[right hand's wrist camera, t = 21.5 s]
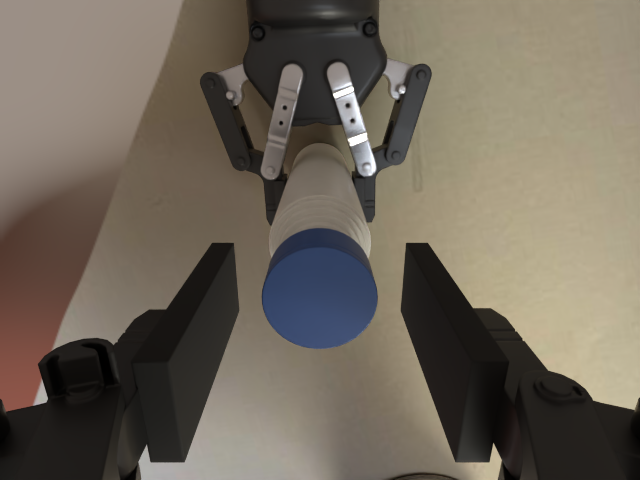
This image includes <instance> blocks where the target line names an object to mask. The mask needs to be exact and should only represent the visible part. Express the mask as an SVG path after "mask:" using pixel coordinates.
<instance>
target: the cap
mask: <svg viewBox="0 0 640 480" xmlns="http://www.w3.org/2000/svg"><path fill="white" fill-rule="evenodd" d="M377 298H378V296H377V288H376V284H375V281H374V277H373V273H372V270H371V266H370V263H369V260H368V257H367V255H366V253H365V252H364V250H363V249H362V247H361V246H360V245H359V244H358V243H357V242H356V241H355V240H354V239H352V238H351V237H349V236H348V235H346V234H344V233H342V232H339V231H337V230H333V229H327V228H312V229H307V230H303V231H300V232H298V233H295V234H294V235H292V236H290V237H289V238H287V239H286V240H285V241H284V242H282V243H281V244H280V245H279V247H278V248H277V249H276V251H275V252H274V254H273V256H272V259H271V261H270V264H269V268H268V271H267V275H266V278H265V282H264V286H263V290H262V305H263V310H264V312H265V315H266V317H267V319H268V321H269V323H270V324H271V326H272V327H273V328H274V329H275V330H276V332H277V333H279V334H280V335H281V336H282V337H283V338H285V339H287V340H288V341H290V342H292V343H294V344H297V345H299V346H302V347H307V348H314V349H326V348H333V347H337V346H340V345H343V344H345V343H347V342H349V341H351V340H353V339H354V338H356V337H357V336H358V335H360V334H361V333H362V332H363V331H364V330H365V329H366V328H367V326H368V325H369V323H370V322H371V320H372V318H373V316H374V314H375V311H376V307H377Z"/></svg>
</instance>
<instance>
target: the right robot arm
mask: <svg viewBox="0 0 640 480" xmlns="http://www.w3.org/2000/svg"><path fill="white" fill-rule="evenodd" d="M238 313H239V301H238V289H237V277H236V264H235V252H234V243H212V244H211V245H210V247H209V248H208V250H207V251H206V253H205V254H204V256H203V257H202V258H201V260H200V261H199V263H198V264H197V266H196V267H195V269H194V270H193V272H192V273H191V274H190V276H189V277H188V279H187V280H186V282H185V283H184V285H183V286H182V287H181V289H180V290H179V292H178V293H177V295H176V296H175V298H174V299H173V300H172V302H171V303H170V305H169V306H168V308H167V309H166V310H148V311H147V312H145V313H143V314H142V315H140V316H139V317H137V318H136V319H134V321H133V322H132V323H131V324H130V326H129V327H128V328H127V329H126V331H125V333H123V334H122V336H121V337H120V338H119V339H118V343H115V344H114V346H113V344H112V343H110V342H109V341H108V340H105V339H100V338H89V339H81V340H77V341H73V342H69V343H67V344H65V345H62V346H60V347H58V348H56V349H54V350H53V351H51V352H50V353H48V354H47V355H45V356H44V357H43V359H42V360H41V361H40V362H39V363H38V366H39V369H40V373H41V376H42V380H43V383H44V386H45V390H46V393H47V397H48V400H47V403H43V404H39V405H35V406H30V407H26V408H21V409H16V410H12V411H8V412H6V411H5V408H4V405H3V402H2V400H1V399H0V480H141V474H140V468H139V463H138V461H139V459H140V457H141V455H142V453H143V451H144V449H145V447H146V445H147V447H148V452H149V457H150V462H185V460H186V457H187V454H188V451H189V449H190V446H191V443H192V440H193V437H194V435H195V432H196V429H197V426H198V424H199V421H200V418H201V415H202V412H203V410H204V407H205V404H206V401H207V399H208V396H209V393H210V390H211V388H212V385H213V382H214V379H215V376H216V374H217V371H218V368H219V365H220V363H221V360H222V357H223V354H224V352H225V349H226V346H227V343H228V340H229V338H230V335H231V332H232V329H233V327H234V324H235V321H236V318H237V316H238ZM401 313H402V316H403V318H404V321H405V324H406V327H407V329H408V332H409V335H410V338H411V340H412V343H413V346H414V349H415V352H416V354H417V357H418V360H419V363H420V365H421V368H422V371H423V374H424V376H425V379H426V382H427V385H428V388H429V390H430V393H431V396H432V399H433V401H434V404H435V407H436V410H437V412H438V415H439V418H440V421H441V424H442V426H443V429H444V432H445V435H446V437H447V440H448V443H449V446H450V449H451V451H452V454H453V457H454V460H455V462H490V457H491V452H492V447H493V443H494V445H495V447H496V449H497V451H498V453H499V455H500V457H501V459H502V463H501V468H500V472H499V477H498V480H640V398H639V399H638V402H637V405H636V408H635V410H632V409H627V408H622V407H618V406H613V405H609V404H604V403H600V402H596V401H593V399H592V398H591V396H590V395H589V393H588V392H587V391H586V389H585V388H583V387H582V386H581V385H579V384H578V383H577V382H576V381H574V380H572V379H570V378H568V377H566V376H564V375H562V374H558V373H555V372H551V371H548V370H547V369H546V367H545V366H544V365H543V364H542V362H541V361H540V360H539V359H538V357H537V356H536V355H535V354H534V352H533V351H532V350H531V349H530V347H529V346H528V345H527V344H526V343H525V341H523V340H522V338H521V336H520V335H519V334H518V333H517V332H515V329H514V328H513V326H512V325H511V324H510V323H509V321H508V320H507V319H506V318H505V317H503V316H502V315H500V314H499V313H497V312H496V311H494V310H493V309H491V308H472V306H471V305H470V303H469V302H468V300H467V299H466V298H465V296H464V295H463V293H462V292H461V290H460V289H459V287H458V286H457V285H456V283H455V282H454V280H453V279H452V277H451V276H450V274H449V273H448V272H447V270H446V269H445V267H444V266H443V264H442V263H441V261H440V260H439V258H438V257H437V256H436V254H435V253H434V251H433V250H432V248H431V247H430V245H429V244H428V243H406V252H405V264H404V277H403V289H402V301H401ZM395 480H454V479H451V478H447V477H443V476H437V475H412V476H406V477H402V478H398V479H395Z"/></svg>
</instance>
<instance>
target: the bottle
mask: <svg viewBox="0 0 640 480" xmlns="http://www.w3.org/2000/svg"><path fill="white" fill-rule="evenodd" d="M312 228H327V229H333V230H337V231H339V232H342V233H344V234H346V235H348V236H349V237H351V238H352V239H354V240H355V241H356V242H357V243H358V244H359V245H360V246H361V247H362V249H363V250H364V252H365V253H366V255H367V257H369V254H370V249H371V236H370V231H369V228H368V225H367V222H366V219H365V216H364V213H363V210H362V207H361V204H360V201H359V199H358V196H357V193H356V190H355V187H354V184H353V181H352V178H351V175H350V172H349V170H348V167H347V164H346V161H345V158H344V157H343V155H342V154H341V152H340V151H339V150H338V149H336V148H335V147H333V146H331V145H329V144H325V143H314V144H311V145H308V146H307V147H305V148H303V149H302V150H301V151H300V152H299V153H298V155H297V156H296V158H295V160H294V163H293V166H292V169H291V172H290V175H289V177H288V180H287V183H286V186H285V189H284V192H283V195H282V198H281V200H280V203H279V206H278V209H277V212H276V215H275V218H274V221H273V223H272V226H271V229H270V233H269V251H270V255H271V258H272V256H273V254H274V252H275V251H276V249H277V248H278V247H279V245H280V244H281V243H282V242H284V241H285V240H286V239H287V238H289V237H290V236H292V235H294V234H295V233H298V232H300V231H303V230H307V229H312Z"/></svg>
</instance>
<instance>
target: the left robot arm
mask: <svg viewBox="0 0 640 480" xmlns="http://www.w3.org/2000/svg"><path fill="white" fill-rule="evenodd" d="M246 2H247V14H248V25H249V44H248V48H247V51H246V53H245V55H244V59H243V64H240V65H237V66H234V67H232V68H229V69H226V70H223V71H220V72H207V73H205V74H203V75H202V77H201V79H200V85H201V88H202V90H203V93H204V95H205V98H206V100H207V103H208V105H209V108H210V110H211V113H212V115H213V118H214V120H215V123H216V125H217V128H218V130H219V133H220V135H221V138H222V140H223V143H224V145H225V148H226V151H227V153H228V156H229V158H230V161H231V163H232V165H233V167H234V168H235V169H236V170H239V171H245V170H246V171H250V172H253V173H256V174H258V175H259V176H260V177H261V178H262V180H263V182H264V191H265V203H266V215H267V220H268V222H269V224H270V226H272V223H273V221H274V218H275V215H276V212H277V209H278V206H279V203H280V200H281V198H282V195H283V192H284V189H285V186H286V183H287V174H284V167H283V163H284V159H285V156H286V152H287V148H288V144H289V140H290V137H291V133H292V129H293V126H306V125H309V124H312V123H316V122H319V123H323V124H327V125H342V127H343V130H344V133H345V136H346V139H347V142H348V145H349V148H350V151H351V154H352V157H353V160H354V163H355V171H352V181H353V184H354V187H355V190H356V193H357V196H358V199H359V201H360V204H361V207H362V210H363V213H364V216H365V219H366V222H372V220H373V218H374V216H375V179H376V175H377V174H378V172H379V171H380V170H382V169H384V168H386V167H389V166H392V165H399V164H401V163H402V162H403V161H404V160H405V157H406V154H407V151H408V148H409V144H410V141H411V138H412V135H413V132H414V129H415V126H416V123H417V120H418V116H419V113H420V110H421V107H422V104H423V101H424V98H425V95H426V92H427V88H428V85H429V82H430V79H431V75H432V73H431V69H430V68H429V66H427V65H426V64H418V65H410V64H407V63H403V62H399V61H396V60H392V59H388V58H387V54H386V51H385V49H384V47H383V45H382V43H381V40H380V36H379V0H246ZM382 75H383V76H384V77H386V79H387V81H388V93H389V96H390V97H391V98H393V99H396V100H395V103H394V106H393V110H392V113H391V116H390V120H389V123H388V126H387V130H386V133H385V136H384V140H383V143H382V145H380V146H378V147H375V148H373V149H371V146H370V142H369V139H368V134H367V131H366V128H365V124H364V121H363V118H362V115H361V111H360V107H361V106H362V104H363V103H364V101H365V100H366V98H367V97H368V95H369V94H370V93H371V91H372V90H373V88H374V87H375V85H376V84H377V82H378V81H379V79H380V78H381V76H382ZM248 80H249V81H250V82H251V83H252V85H253V86H254V87H255V88H256V90H257V91H258V92H259V94H260V95H261V96H262V97H263V99H264V100H265V101H266V103H267V104H268V105H269V106H270V108H271V109H272V110H273V115H272V119H271V123H270V128H269V132H268V137H267V144H266V148H265V152H262V151H258V150H255V149H254V147H253V144H252V141H251V138H250V136H249V133H248V130H247V128H246V125H245V122H244V120H243V117H242V114H241V112H240V109H239V106H238V105H239V104H241V103H242V102H243V101H244V98H245V94H244V85H245V83H246V82H247V81H248Z"/></svg>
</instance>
